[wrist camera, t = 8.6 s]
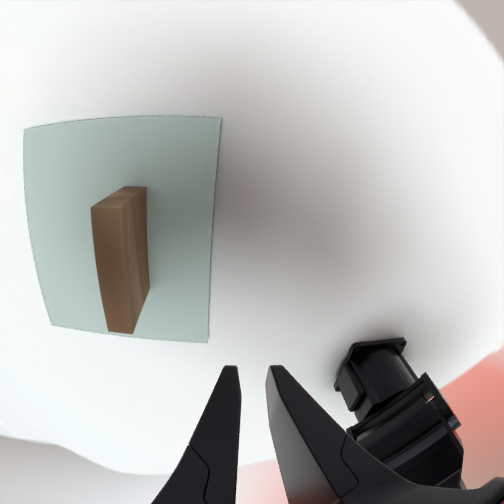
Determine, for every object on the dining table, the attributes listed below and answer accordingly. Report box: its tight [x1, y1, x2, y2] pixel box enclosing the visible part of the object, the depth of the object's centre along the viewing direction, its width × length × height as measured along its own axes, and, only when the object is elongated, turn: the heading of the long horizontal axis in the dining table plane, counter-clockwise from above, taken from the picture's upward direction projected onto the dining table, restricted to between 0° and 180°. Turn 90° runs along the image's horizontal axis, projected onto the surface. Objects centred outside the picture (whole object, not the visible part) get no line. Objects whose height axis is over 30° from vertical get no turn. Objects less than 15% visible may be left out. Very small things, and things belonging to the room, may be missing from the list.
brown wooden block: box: [90, 186, 150, 334], centre depth 15 cm, size 2×7×5 cm, turn 174°
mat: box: [23, 116, 221, 343], centre depth 17 cm, size 14×16×1 cm
